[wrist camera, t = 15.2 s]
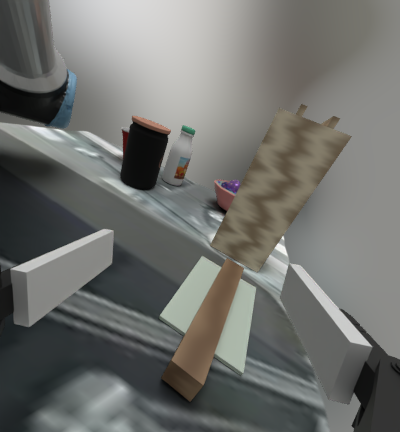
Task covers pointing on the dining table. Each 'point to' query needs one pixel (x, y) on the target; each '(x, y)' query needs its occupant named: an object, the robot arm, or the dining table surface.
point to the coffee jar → (144, 153)
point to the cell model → (226, 192)
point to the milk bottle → (179, 157)
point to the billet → (203, 334)
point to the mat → (236, 320)
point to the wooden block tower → (278, 185)
